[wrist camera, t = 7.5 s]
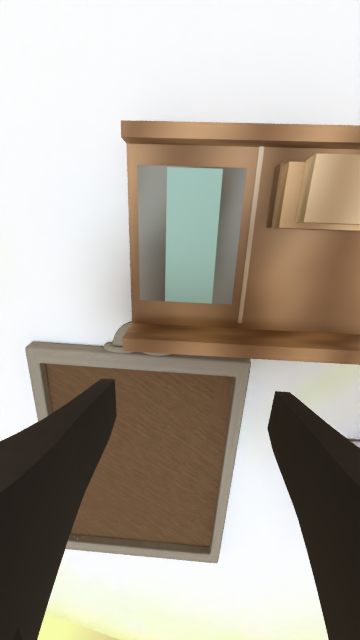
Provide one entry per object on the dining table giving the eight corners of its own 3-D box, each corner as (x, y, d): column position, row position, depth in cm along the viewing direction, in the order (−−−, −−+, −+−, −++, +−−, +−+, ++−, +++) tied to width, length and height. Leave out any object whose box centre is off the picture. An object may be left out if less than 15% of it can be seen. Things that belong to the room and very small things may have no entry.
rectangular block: (212, 190, 16) (222, 168, 11) (206, 281, 18) (211, 303, 13) (176, 188, 16) (167, 167, 11) (173, 279, 18) (164, 301, 13)
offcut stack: (371, 170, 16) (420, 153, 12) (355, 231, 17) (396, 231, 13) (274, 167, 16) (296, 150, 12) (266, 227, 17) (284, 227, 14)
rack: (412, 139, 16) (477, 112, 12) (352, 342, 20) (386, 366, 17) (129, 133, 16) (111, 105, 13) (134, 330, 21) (122, 351, 17)
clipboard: (60, 549, 30) (18, 317, 20) (67, 534, 32) (30, 311, 22) (218, 564, 30) (257, 333, 19) (217, 548, 31) (252, 325, 21)
